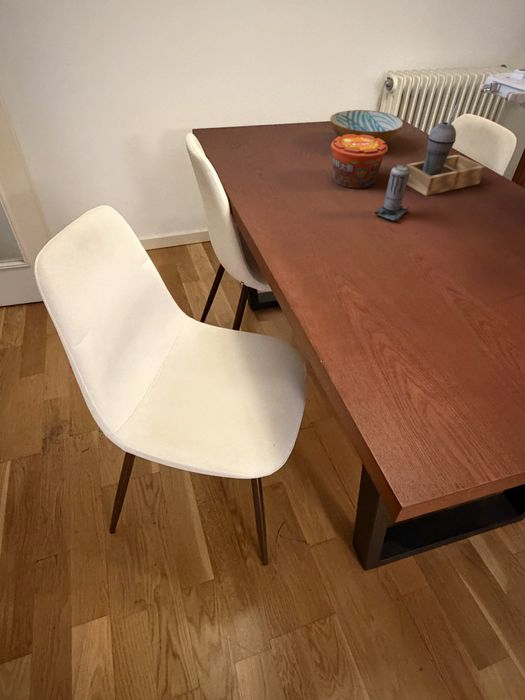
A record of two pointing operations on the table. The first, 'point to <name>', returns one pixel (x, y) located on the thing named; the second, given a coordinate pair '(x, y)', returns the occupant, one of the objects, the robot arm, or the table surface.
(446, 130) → the beverage cup
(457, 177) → the wooden divided box
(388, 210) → the grey column figurine
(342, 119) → the bowl
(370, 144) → the food container
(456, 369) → the table surface
